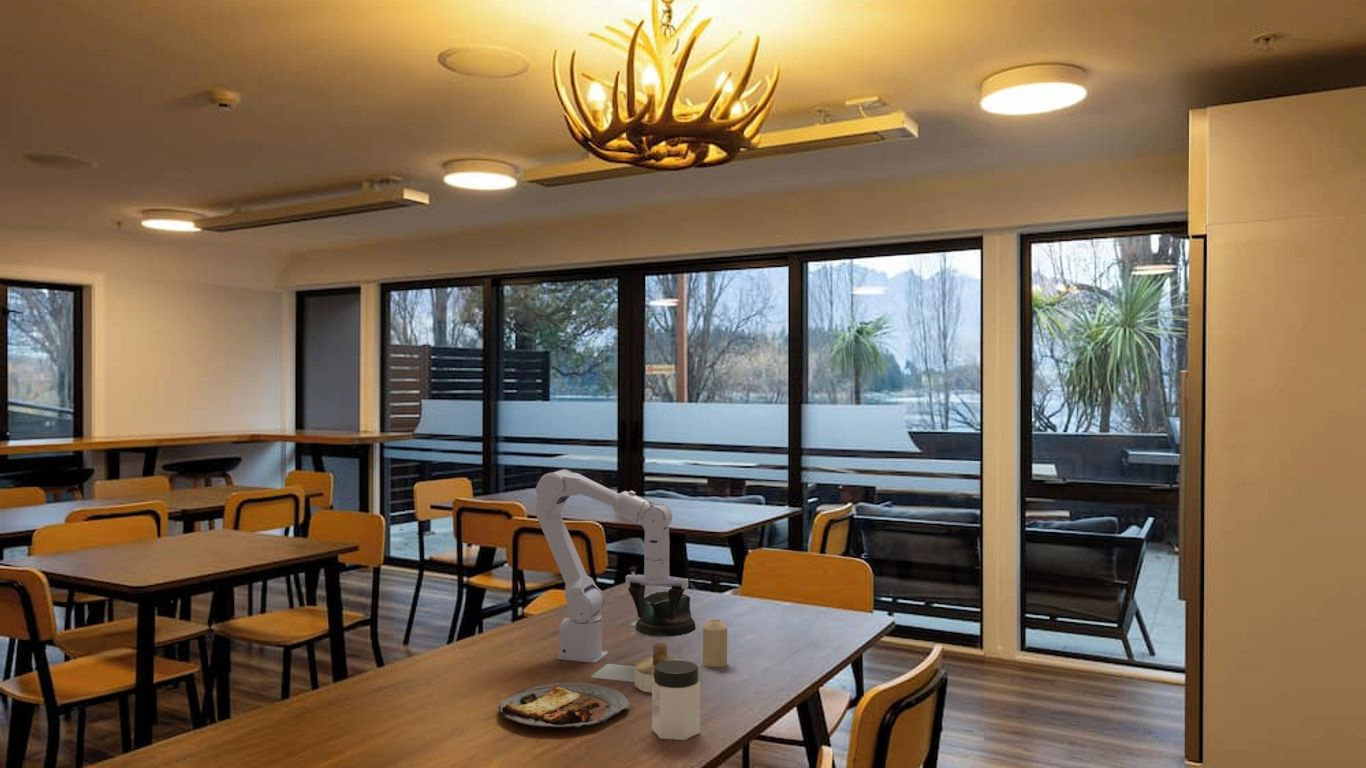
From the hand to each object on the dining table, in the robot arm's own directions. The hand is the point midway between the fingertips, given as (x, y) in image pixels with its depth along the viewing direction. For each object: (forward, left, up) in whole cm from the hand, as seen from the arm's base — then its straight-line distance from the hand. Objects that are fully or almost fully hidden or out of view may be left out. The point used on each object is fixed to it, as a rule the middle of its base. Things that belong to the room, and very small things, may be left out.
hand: (656, 617), depth 211 cm
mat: (-5, -10, -10) cm, 15 cm away
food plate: (-7, -35, -11) cm, 37 cm away
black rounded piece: (-8, +29, -11) cm, 32 cm away
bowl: (+6, -15, -10) cm, 19 cm away
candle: (+13, +3, -11) cm, 17 cm away
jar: (+17, -38, -11) cm, 43 cm away
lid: (+6, -15, -6) cm, 17 cm away
